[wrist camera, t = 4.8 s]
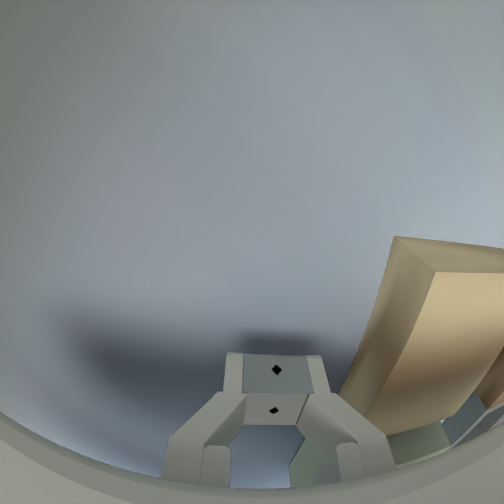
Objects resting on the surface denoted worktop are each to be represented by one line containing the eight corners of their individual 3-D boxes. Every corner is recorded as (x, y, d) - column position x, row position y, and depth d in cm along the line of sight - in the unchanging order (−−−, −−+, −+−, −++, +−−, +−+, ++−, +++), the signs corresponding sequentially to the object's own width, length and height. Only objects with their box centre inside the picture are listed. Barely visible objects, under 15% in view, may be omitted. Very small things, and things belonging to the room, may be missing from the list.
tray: (475, 420, 17) (483, 436, 14) (424, 441, 16) (432, 461, 14) (518, 367, 13) (530, 384, 11) (473, 386, 13) (487, 409, 11)
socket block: (380, 453, 16) (391, 490, 12) (288, 466, 16) (292, 509, 12) (429, 399, 13) (450, 445, 9) (316, 417, 13) (327, 479, 9)
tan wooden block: (434, 380, 13) (453, 415, 10) (333, 396, 12) (345, 443, 10) (498, 245, 9) (538, 273, 6) (389, 232, 9) (435, 271, 6)
